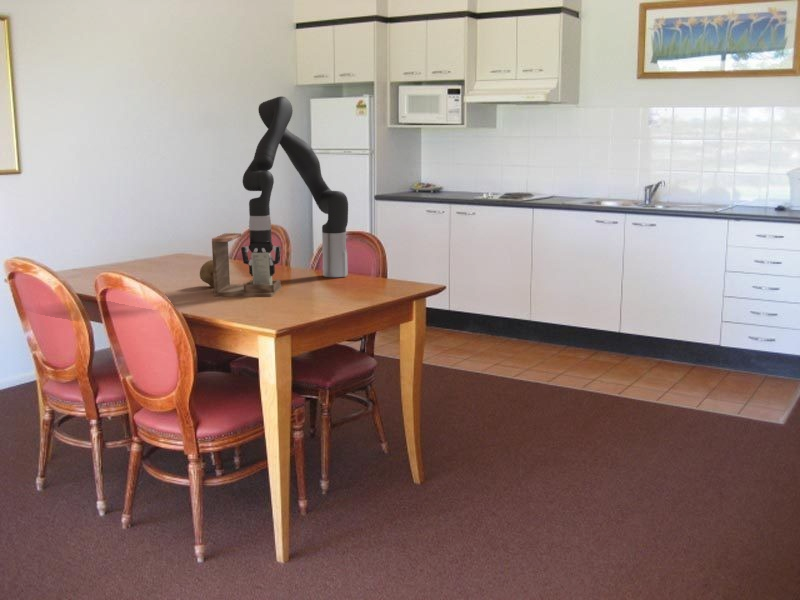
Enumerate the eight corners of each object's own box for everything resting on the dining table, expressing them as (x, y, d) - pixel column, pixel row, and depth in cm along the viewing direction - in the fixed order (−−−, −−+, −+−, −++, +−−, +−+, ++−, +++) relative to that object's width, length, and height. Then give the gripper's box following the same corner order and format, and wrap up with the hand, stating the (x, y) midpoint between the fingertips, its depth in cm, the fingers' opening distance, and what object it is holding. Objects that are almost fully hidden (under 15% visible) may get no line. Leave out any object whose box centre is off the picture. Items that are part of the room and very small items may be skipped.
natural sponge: (213, 290, 319) (211, 262, 317) (195, 288, 323) (193, 261, 321) (230, 286, 326) (229, 259, 324) (212, 284, 331) (211, 257, 329)
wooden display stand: (282, 288, 320) (280, 233, 317) (272, 296, 305) (270, 238, 301) (227, 288, 322) (224, 233, 318) (214, 296, 306) (211, 238, 303)
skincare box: (272, 284, 315) (271, 251, 312) (269, 287, 310) (268, 252, 308) (255, 284, 315) (254, 250, 313) (252, 287, 311) (250, 252, 309)
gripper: (282, 227, 312) (284, 274, 315) (242, 227, 313) (244, 274, 316) (278, 229, 305) (279, 277, 308) (237, 229, 306) (239, 277, 309)
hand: (262, 275), depth 312 cm, fingers closed on skincare box, 6 cm apart
